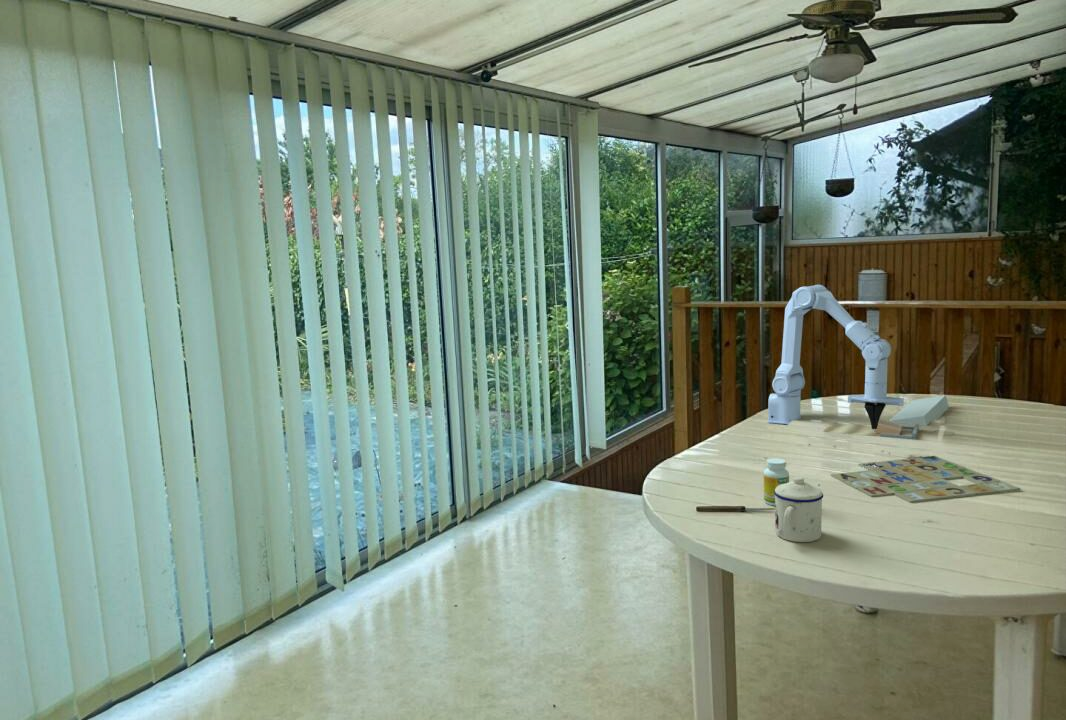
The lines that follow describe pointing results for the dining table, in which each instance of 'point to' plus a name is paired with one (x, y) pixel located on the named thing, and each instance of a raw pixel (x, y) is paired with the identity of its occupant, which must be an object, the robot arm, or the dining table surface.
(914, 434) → the tray
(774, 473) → the supplement bottle
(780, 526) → the teacup with lid
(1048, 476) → the dining table surface
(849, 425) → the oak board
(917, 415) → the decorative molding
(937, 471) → the alphabet tiles
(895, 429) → the tile
